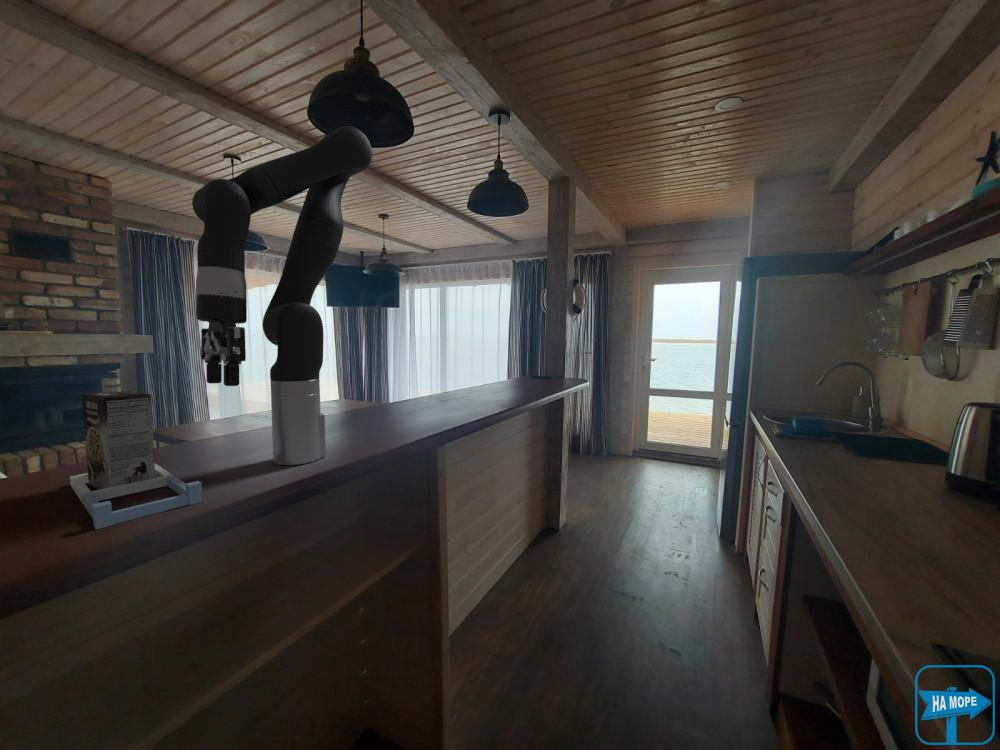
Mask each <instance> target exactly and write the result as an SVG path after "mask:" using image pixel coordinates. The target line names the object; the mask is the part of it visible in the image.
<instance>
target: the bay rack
mask: <svg viewBox="0 0 1000 750" xmlns="http://www.w3.org/2000/svg"><path fill="white" fill-rule="evenodd" d="M154 465H155V478H154V479H149V480H144V481H139V482H134V483H129V484H124V485H119V486H114V487H109V488H105V489H100V490H99V489H95V490H90V488H88V486H87V485H86V484H89V479H88V472H86V473H81V474H75V475H70V476H69V485H70V487H71V488H72V490H73V491H74V493H75V494H76V496H77V497H78V499H79V501H80V502H81V503H82V505H83V507H84V508H85V509H86V511H87V512H88V514H89V515H90V517H91V518H92V521H93V528H95V530H100V529H103V528H108V527H111V526H113V525H116V524H121V523H124V522H128V521H132V520H136V519H138V518H139V519H140V518H142V517H143V518H144V517H147V516H151V515H154V514H158V513H162V512H166V511H171V510H173V509H177V508H182V507H186V506H191V505H195V504H199V503H203V485H202V482H201V481H199V480H196V481H191V482H188V483H185V482H184V481H183V480H181V479H180V478H178V477H176V476H175V475H173V474H172V473H170V472H169V471H167V470H166V469H164V468H163V467H161V466H160V465H159V464H157V463H156V462H154ZM164 487H168V488H169V489H171V490H172V491H174V492H175V494H177V495H175V496H171V497H167V498H163V499H159V500H155V501H150V502H147V503H143V504H138V505H133V506H130V507H126V508H122V509H117V510H116V509H115V510H113V509H112V508H113V506H112V505H113V504H112V502H111V501H110V499H114V498H118V497H122V496H127V495H130V494H131V495H132V494H136V493H141V492H145V491H150V490H155V489H159V488H164ZM104 500H105V501H104ZM100 501H102V502H100Z"/></svg>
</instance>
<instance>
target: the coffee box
mask: <svg viewBox="0 0 1000 750" xmlns="http://www.w3.org/2000/svg"><path fill="white" fill-rule="evenodd" d="M81 401H82V402H81V403H82V415H83V426H84V437H85V439H84V440H85V450H86V451H85V452H86V453H85V456H86V464H87V473H88V479H89V483H88V486H91V487H92V488H95V489H96V490H100V489H105V488H109V487H114V486H119V485H124V484H129V483H134V482H139V481H144V480H149V479H154V478H156V477H155V465H154V463H155V448H154V447H155V446H154V445H155V444H154V425H153V422H154V421H153V405H152V404H153V402H152V394H150V393H142V392H137V391H130V390H124V391H99V392H88V393H81Z"/></svg>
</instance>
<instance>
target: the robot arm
mask: <svg viewBox="0 0 1000 750" xmlns="http://www.w3.org/2000/svg"><path fill="white" fill-rule="evenodd" d="M372 158H373V148H372V146H371V143H370V140H369V139H368V138H367V136H366V134H364V132H362V131H361V130H360V129H358V128H356V127H354V126H349V125H344V126H340V127H338V128H336V129H334V130H333V131H330V132H329V133H328V134H326V135H325V136H323V137H322V138H321V140H320V141H319V142H318V143H317V144H314V145H311V146H309V147H308V148H305V149H302V150H298V151H297V152H296V151H295V152H294V153H293V152H292V153H290V154H288V155H284V156H281V157H278V158H274V159H272V160H269V161H266V162H263V163H261V164H258V165H256V166H253V167H250V168H248V169H246V170H244V171H242V172H241V173H239V174H238V175H236V176H235V177H232V178H229V179H227V178H217V179H213V180H211V181H209V182H208V183H206V184H205V185H203V186H201V188H199V189H198V190H197V191H196V192H195V193H194V194H193V197H192V199H191V200H192V201H191V204H192V209H193V212H194V214H195V216H197V218H198V219H199V220H200V221H202V222H203V223H204V224H203V226H204V227H203V233H202V235H200V237H199V240H198V243H197V256H196V257H197V269H196V270H197V272H196V278H195V318H196V320H198V321H199V322H200V321H201V322H208V328H201V330H200V333H201V337H200V338H201V340H200V341H201V342H200V344H201V345H200V346H201V347H200V349H201V350H200V358H201V360H203V361H204V363H205V364H206V365H205V366H206V369H205V370H206V383H208V384H220V383H221V382H222V381H223V385H224V386H226V387H237V386H239V385H240V365H241V364H242V362H245V361H246V360H247V357H246V355H247V353H246V329H245V327H244V326H241V327H240V326H237V324H238V325H239V324H245V323H247V319H248V318H247V307H248V305H247V301H248V299H247V298H248V297H247V296H248V295H247V289H248V287H247V279H246V255H245V247H246V243H247V239H248V233H249V230H250V226H251V216H252V215H253V214H255V213H257V212H259V211H261V210H264V209H265V210H266V209H267V208H271V207H274V206H276V205H279V204H281V203H283V202H284V201H288V200H289V199H291V198H294V197H295V196H298V195H299V194H301V193H303V192H304V191H307V192H306V195H305V198H304V201H303V203H302V204H303V205H302V208H301V211H300V213H299V216H298V218H297V222H296V225H295V228H294V230H293V234H292V238H291V242H290V246H289V248H288V252H287V255H286V258H285V260H284V265H283V268H282V273H281V276H280V278H279V281H278V284H277V286H276V288H275V291H274V293H273V295H272V297H271V299H270V301H269V304H268V306H267V308H266V310H265V313H264V315H263V319H262V331H263V334H264V336H265V337H266V339H267V341H269V342H270V343H271V344H272V345H275V346H277V355H276V360H275V362H274V363H273V364H272V366H271V367H270V371H269V379H270V381H269V382H270V403H271V406H270V407H271V430H272V431H271V432H272V433H271V434H272V435H271V436H272V455H273V456H272V461H273V463H274V464H275V465H280V466H295V465H303V464H309V463H312V462H315V461H318V460H319V459H322V458H325V457H326V456H327V455H326V453H327V450H326V448H327V447H326V416H325V413H324V412H321V390H320V388H321V387H320V385H321V384H320V374H321V373H320V372H321V369H322V367H323V362H324V325H323V320H322V317H321V315H320V313H319V311H318V310H317V309H316V308H315V307H314V306H312V305H311V302H312V299H313V295H314V293H315V290H316V288H318V286H319V284H320V282H321V281H322V280H323V278H324V277H325V276H326V274H327V272H328V271H329V270H330V268H331V267H332V264H333V263H334V261H335V259H336V257H337V255H338V253H339V252H338V251H339V249H340V245H341V242H342V238H343V234H344V218H343V212H342V204H341V203H342V199H343V195H344V192H345V188H346V186H347V183H348V181H349V180H350V178H351V177H352V176H355V175H357V174H359V173H361V172H363V171H365V170H366V169H367V168H368V167H369V166H370V164H371V163H372V160H373V159H372ZM222 363H223V371H222ZM222 372H223V377H222ZM222 379H223V380H222Z"/></svg>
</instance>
